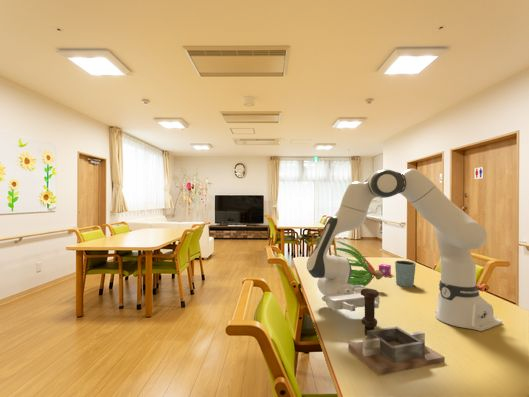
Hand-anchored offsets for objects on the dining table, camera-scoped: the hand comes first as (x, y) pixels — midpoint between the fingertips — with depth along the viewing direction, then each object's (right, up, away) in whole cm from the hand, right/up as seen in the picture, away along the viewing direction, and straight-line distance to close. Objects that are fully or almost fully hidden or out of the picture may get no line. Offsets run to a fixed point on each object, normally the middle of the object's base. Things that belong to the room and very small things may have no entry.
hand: (365, 307), depth 101 cm
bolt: (+1, -9, -2) cm, 9 cm away
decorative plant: (+11, -9, +52) cm, 54 cm away
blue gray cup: (+41, -9, +57) cm, 71 cm away
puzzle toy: (+39, -9, +78) cm, 88 cm away
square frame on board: (+3, -8, -15) cm, 18 cm away
